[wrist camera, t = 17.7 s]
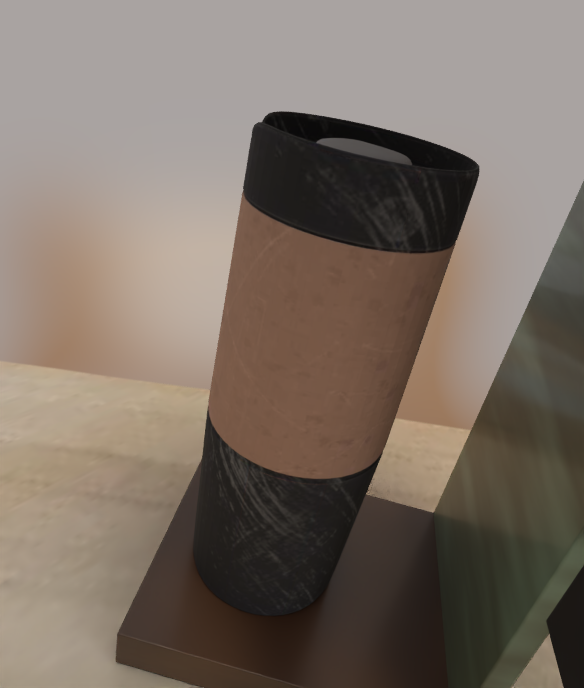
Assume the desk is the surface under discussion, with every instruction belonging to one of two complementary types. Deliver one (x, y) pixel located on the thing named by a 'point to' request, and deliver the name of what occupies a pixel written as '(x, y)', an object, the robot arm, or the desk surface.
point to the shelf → (416, 546)
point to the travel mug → (317, 345)
